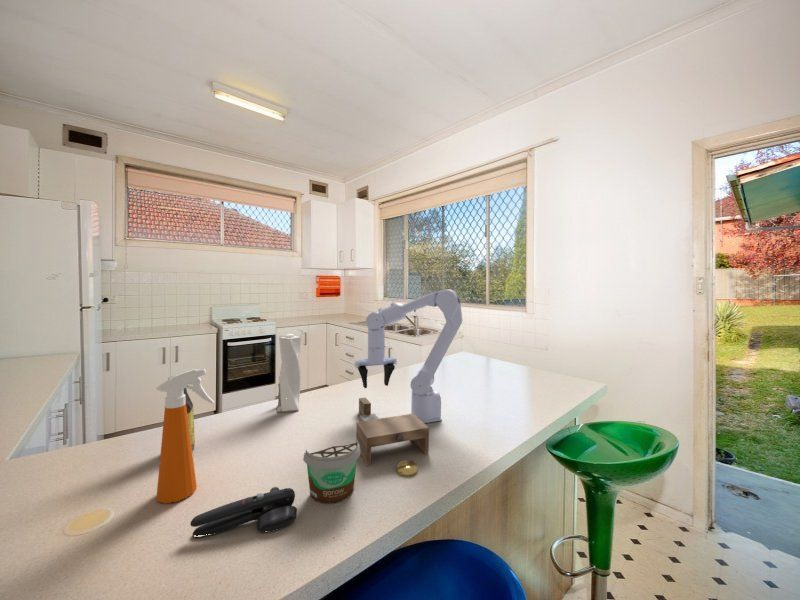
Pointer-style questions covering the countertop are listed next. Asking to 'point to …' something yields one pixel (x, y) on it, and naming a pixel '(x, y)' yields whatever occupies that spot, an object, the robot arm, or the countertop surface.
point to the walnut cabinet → (391, 433)
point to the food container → (332, 472)
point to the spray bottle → (178, 438)
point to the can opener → (250, 513)
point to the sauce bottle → (189, 416)
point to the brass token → (407, 468)
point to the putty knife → (365, 410)
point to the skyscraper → (289, 373)
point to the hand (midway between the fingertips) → (375, 386)
